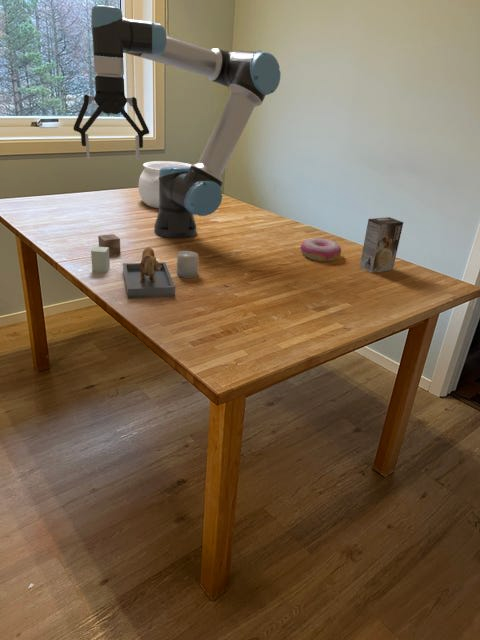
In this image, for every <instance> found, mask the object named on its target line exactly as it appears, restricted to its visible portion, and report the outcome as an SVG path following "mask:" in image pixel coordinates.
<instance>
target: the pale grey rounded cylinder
mask: <svg viewBox="0 0 480 640" xmlns="http://www.w3.org/2000/svg"><path fill="white" fill-rule="evenodd" d="M198 270H199V253H197V252H195V251H191V250H182V251H178V252H177V255H176V276H178V277H180V278H184V279H192V278H196V277H198V275H199V274H198Z"/></svg>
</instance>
